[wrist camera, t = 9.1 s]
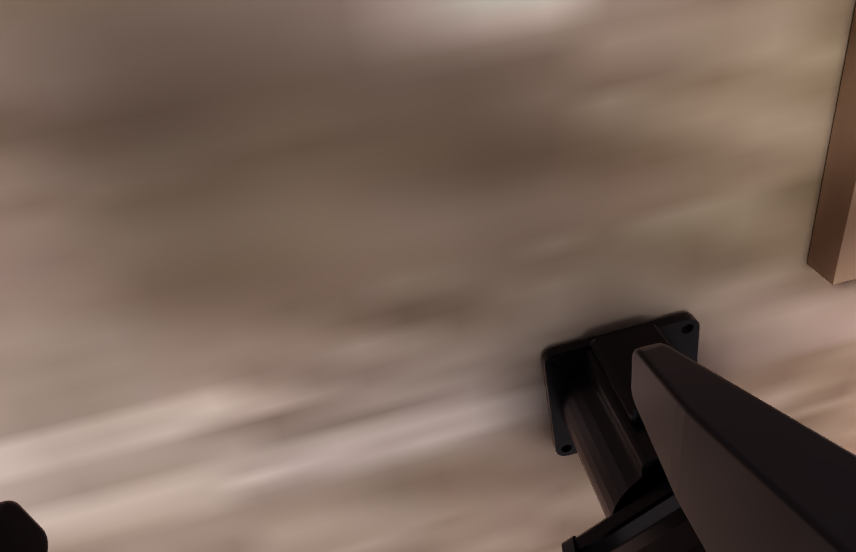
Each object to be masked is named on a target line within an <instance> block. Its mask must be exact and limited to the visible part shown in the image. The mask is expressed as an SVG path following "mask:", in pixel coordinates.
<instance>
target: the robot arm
mask: <svg viewBox="0 0 856 552" xmlns="http://www.w3.org/2000/svg"><path fill="white" fill-rule="evenodd" d="M685 325H686V326H685ZM684 326H685V327H684ZM698 339H699V322H698V321H697V320H696V319H695V317H694V316H693V315H692V314H689V313H684V314H680V315H676V316H672V317H668V318H664V319H661V320H657V321H653V322H649V323H645V324H642V325H638V326H634V327H630V328H626V329H622V330H619V331H615V332H611V333H607V334H603V335H599V336H596V337H592V338H588V339H584V340H580V341H576V342H573V343H569V344H565V345H561V346H557V347H553V348H551V349H548V350H547V351H546V352H545V353H544V354H543V356H542V364H543V371H544V379H545V386H546V394H547V401H548V408H549V416H550V423H551V430H552V438H553V445H554V447H555V450H556V452H557V454H559V455H561V456H566V455H571V454H575V453H578V454H579V457H580V459H581V461H582V464H583V466H584V468H585V470H586V473H587V475H588V477H589V479H590V482H591V484H592V486H593V489H594V491H595V493H596V495H597V498H598V500H599V502H600V504H601V507H602V509H603V511H604V514H605V516H606V518H605V519H604V520H602V521H601V522H599V523H598V524H596V525H595V526H593V527H591V528H590V529H588V530H587V531H585V532H584V533H582V534H581V535H579V536H578V537H575V536H573V537H571V538H570V539H568V540H567V541H565V542H563V543H562V551H563V552H856V455H854V454H853V453H851V452H849V451H847V450H846V449H844V448H842V447H841V446H839V445H837V444H835V443H834V442H832V441H830V440H829V439H827V438H825V437H823V436H822V435H820V434H818V433H817V432H815V431H813V430H811V429H810V428H808V427H806V426H805V425H803V424H801V423H799V422H798V421H796V420H794V419H793V418H791V417H789V416H787V415H786V414H784V413H782V412H781V411H779V410H777V409H775V408H774V407H772V406H770V405H769V404H767V403H765V402H763V401H762V400H760V399H758V398H756V397H755V396H753V395H751V394H750V393H748V392H746V391H744V390H743V389H741V388H739V387H738V386H736V385H734V384H732V383H731V382H729V381H727V380H726V379H724V378H722V377H720V376H719V375H717V374H715V373H714V372H712V371H710V370H708V369H707V368H705V367H703V366H702V365H700V364H698V363H697V353H698ZM556 358H558V359H557V360H555V361H553V360H554V359H556ZM0 552H48V540H47V536H46V533H45V531H44V530H43V529H42V528H41V527H40V526H39V525H38V523H37V522H36V521H35V520H34V519H33V518H32V517H31V516H30V515H29V514H28V513H27V512H26V511H25V510H24V509H23V508H22V507H21V506H20V505H19V504H18V503H16V502H14V501H4V502H0Z"/></svg>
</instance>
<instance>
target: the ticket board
mask: <svg viewBox="0 0 856 552" xmlns="http://www.w3.org/2000/svg"><path fill="white" fill-rule="evenodd" d="M807 264H808V265H809V266H810V267H812V268H813V269H814V270H815V271H816V272H818V273H819V274H820V275H821V276H823V277H824V278H825V279H826V280H827V281H829V282H830V283H831V284H832V285H834V284H838V283H841V282H845V281H849V280H853V279H856V6H855V11H854V17H853V22H852V27H851V33H850V38H849V43H848V49H847V54H846V59H845V65H844V70H843V75H842V81H841V86H840V91H839V96H838V102H837V107H836V112H835V118H834V123H833V128H832V134H831V139H830V144H829V150H828V155H827V160H826V166H825V171H824V176H823V182H822V187H821V192H820V198H819V203H818V208H817V213H816V219H815V224H814V229H813V235H812V240H811V245H810V251H809V256H808V261H807Z"/></svg>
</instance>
